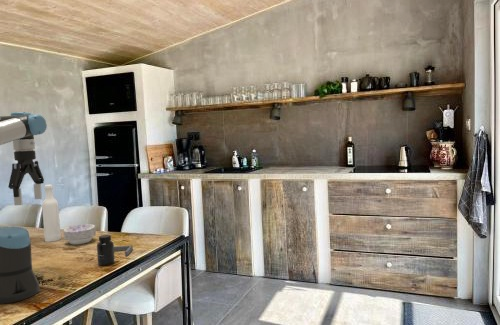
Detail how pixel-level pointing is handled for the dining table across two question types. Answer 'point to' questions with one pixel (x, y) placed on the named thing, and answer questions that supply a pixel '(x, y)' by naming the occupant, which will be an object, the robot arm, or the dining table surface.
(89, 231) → the paper bowls
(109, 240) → the supplement bottle
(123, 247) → the holder
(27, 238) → the robot arm
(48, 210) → the bottle
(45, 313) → the dining table surface
